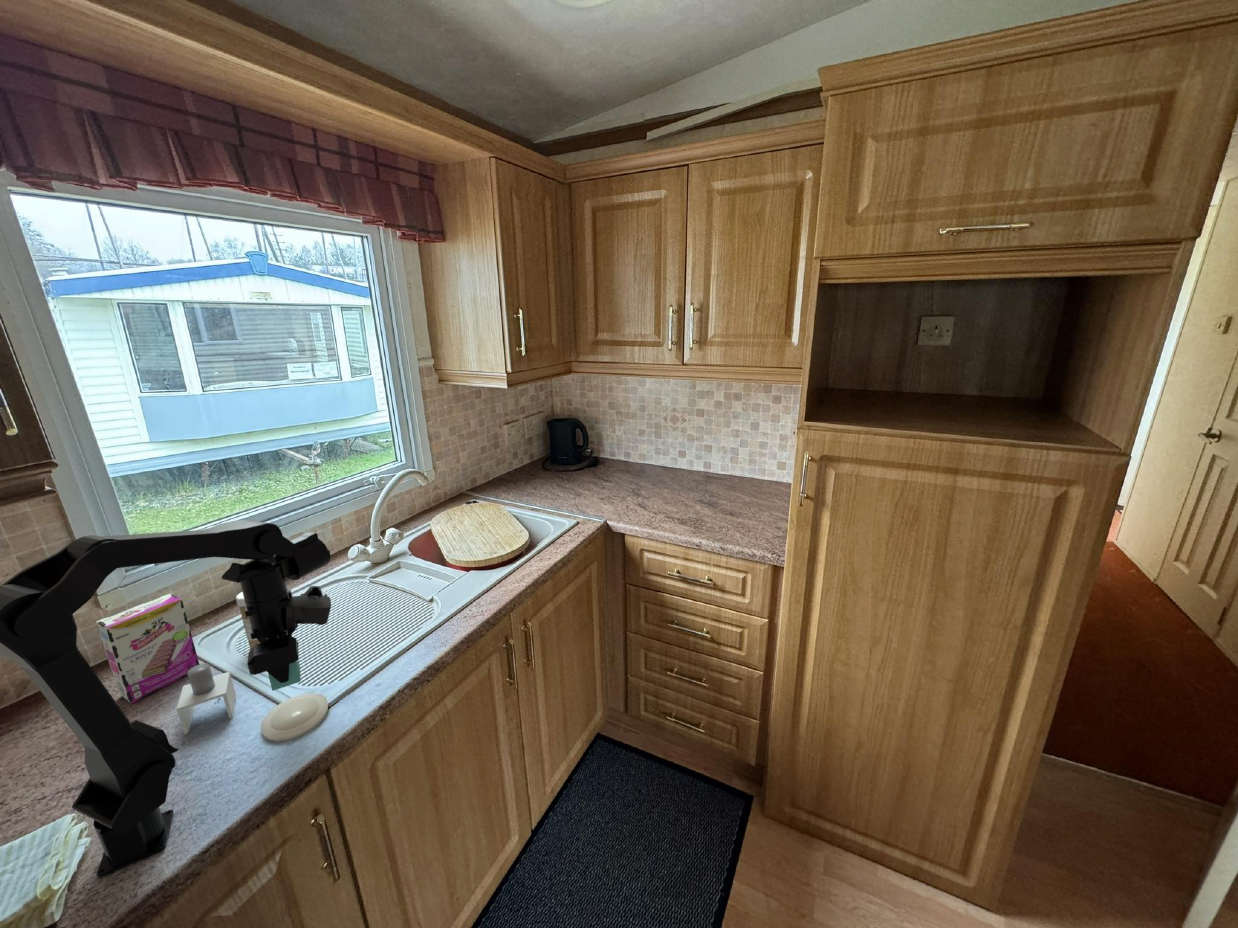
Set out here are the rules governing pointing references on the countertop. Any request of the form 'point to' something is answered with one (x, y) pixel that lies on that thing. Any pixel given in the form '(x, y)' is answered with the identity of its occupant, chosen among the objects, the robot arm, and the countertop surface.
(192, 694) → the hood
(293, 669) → the block
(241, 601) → the sprinkles bottle
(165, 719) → the countertop surface
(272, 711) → the saucer
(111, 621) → the candy bar box
